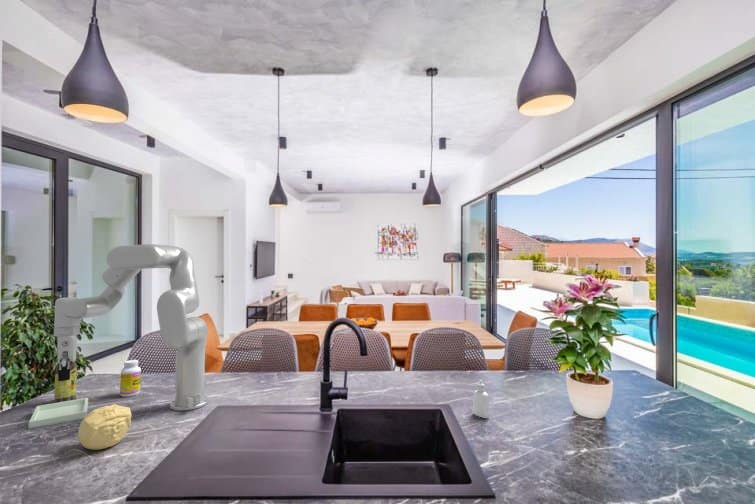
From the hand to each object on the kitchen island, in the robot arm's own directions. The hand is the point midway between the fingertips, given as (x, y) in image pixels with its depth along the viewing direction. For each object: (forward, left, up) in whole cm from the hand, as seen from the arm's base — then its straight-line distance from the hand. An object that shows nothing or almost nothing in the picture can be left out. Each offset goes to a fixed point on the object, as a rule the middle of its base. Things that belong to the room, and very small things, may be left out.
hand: (65, 377), depth 139 cm
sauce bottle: (0, 0, -9) cm, 9 cm away
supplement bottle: (-5, -20, -9) cm, 23 cm away
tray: (-16, 0, -9) cm, 18 cm away
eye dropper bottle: (-98, -116, -9) cm, 152 cm away
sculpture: (-49, -12, -9) cm, 51 cm away
